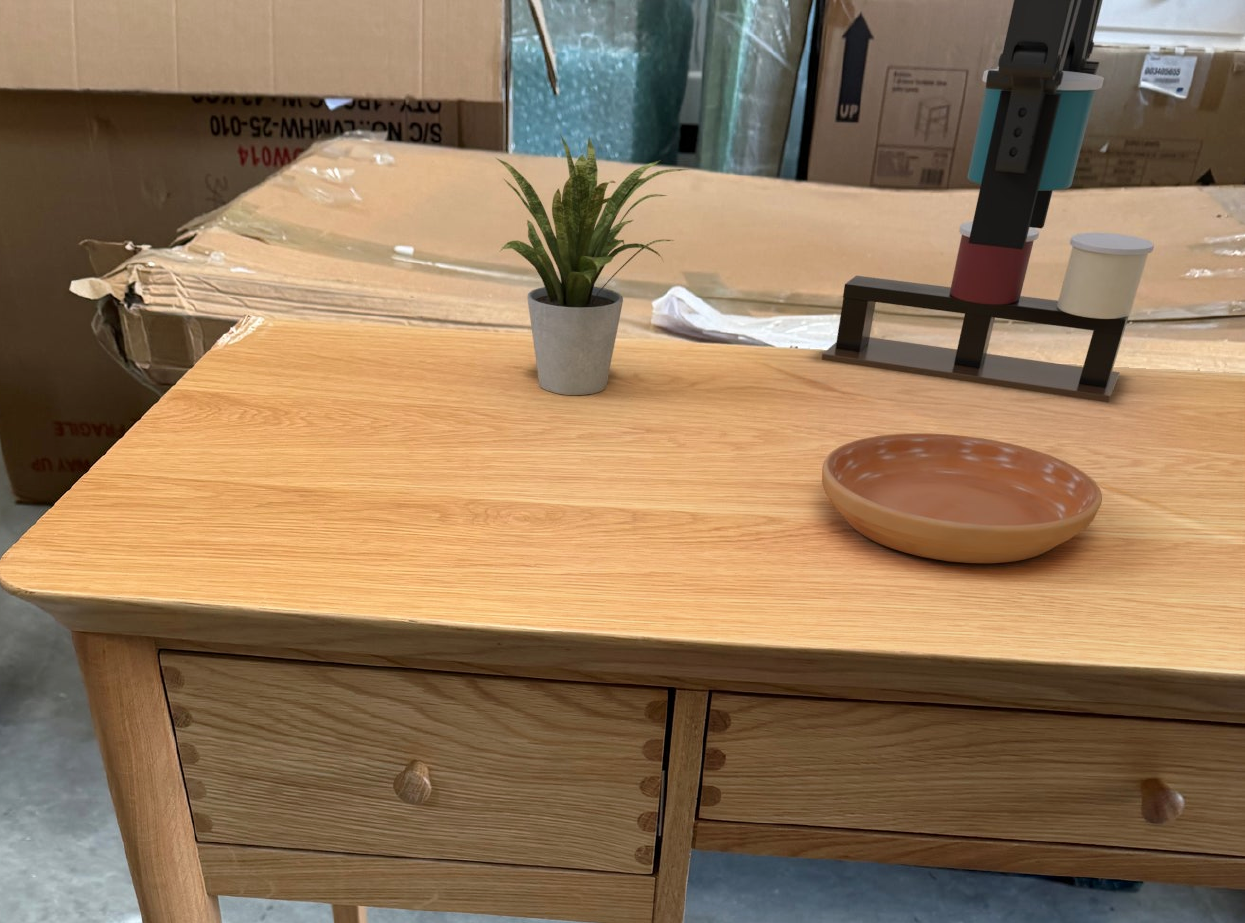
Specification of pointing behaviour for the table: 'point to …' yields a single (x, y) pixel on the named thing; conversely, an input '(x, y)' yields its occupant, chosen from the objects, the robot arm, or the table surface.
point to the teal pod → (1064, 136)
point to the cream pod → (1103, 275)
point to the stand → (974, 341)
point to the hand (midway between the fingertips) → (1007, 233)
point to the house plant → (576, 275)
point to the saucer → (958, 496)
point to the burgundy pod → (990, 270)
